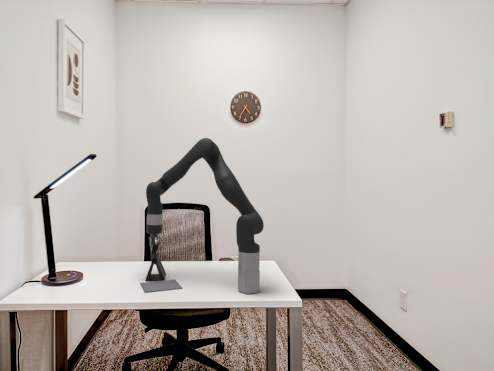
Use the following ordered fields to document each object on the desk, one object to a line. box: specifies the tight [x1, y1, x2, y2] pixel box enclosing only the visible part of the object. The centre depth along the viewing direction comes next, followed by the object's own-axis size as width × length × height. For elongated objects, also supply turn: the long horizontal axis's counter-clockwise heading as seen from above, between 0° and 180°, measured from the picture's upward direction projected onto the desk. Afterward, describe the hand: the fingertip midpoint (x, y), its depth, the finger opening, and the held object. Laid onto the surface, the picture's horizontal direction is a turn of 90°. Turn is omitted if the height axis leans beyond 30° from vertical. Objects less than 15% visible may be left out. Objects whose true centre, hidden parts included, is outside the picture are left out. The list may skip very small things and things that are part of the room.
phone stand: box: [144, 251, 167, 282], centre depth 174 cm, size 9×6×12 cm, turn 96°
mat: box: [140, 279, 183, 294], centre depth 165 cm, size 14×16×1 cm
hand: (153, 258), depth 179 cm, fingers closed
